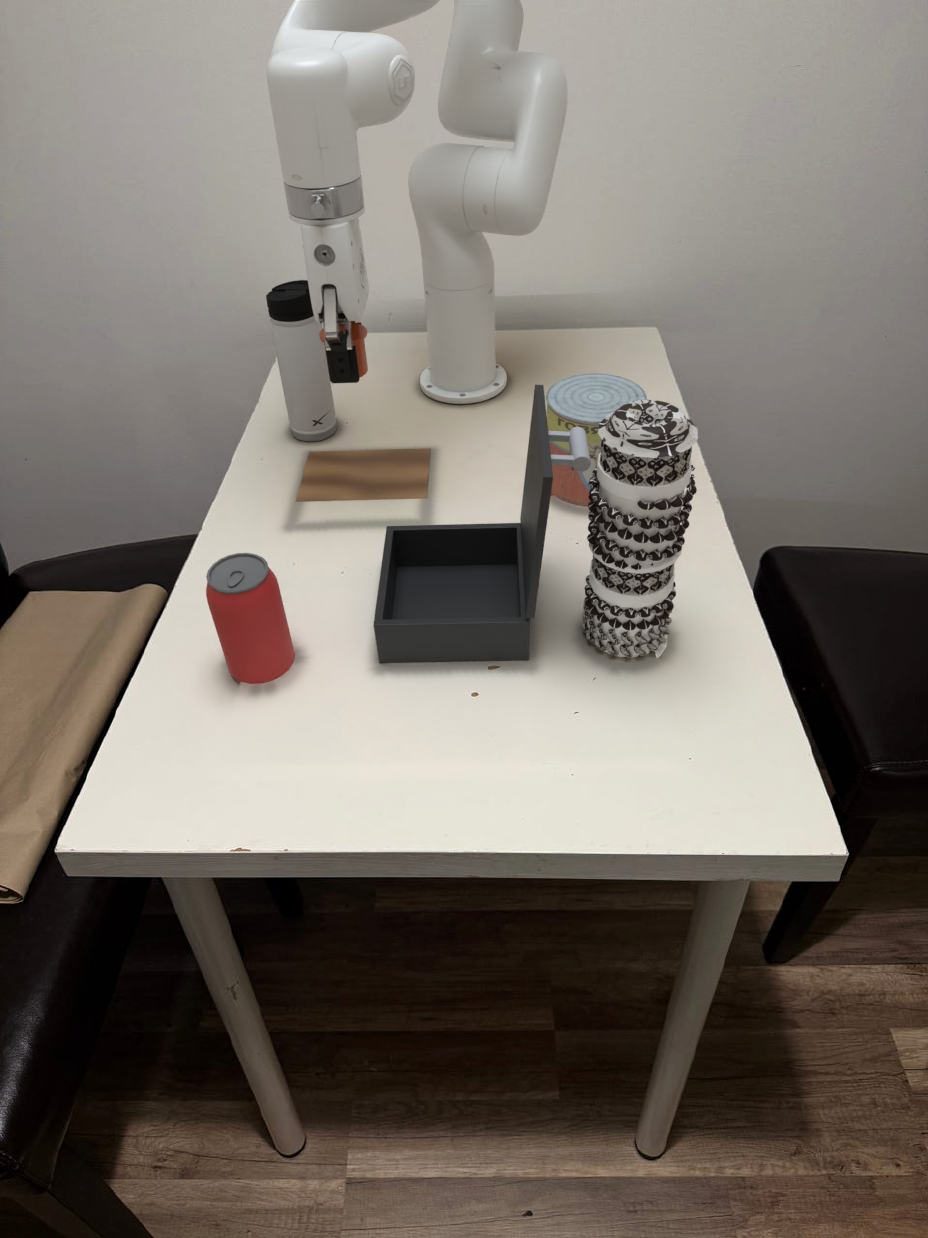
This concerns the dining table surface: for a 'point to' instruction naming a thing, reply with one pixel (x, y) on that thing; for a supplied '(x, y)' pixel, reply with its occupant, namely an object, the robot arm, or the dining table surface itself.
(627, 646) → the decorative candle
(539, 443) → the lid
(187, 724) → the dining table surface
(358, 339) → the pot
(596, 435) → the canned food
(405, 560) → the open hinged box
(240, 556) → the beer can
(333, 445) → the dining table surface
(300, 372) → the travel mug
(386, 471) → the mat
